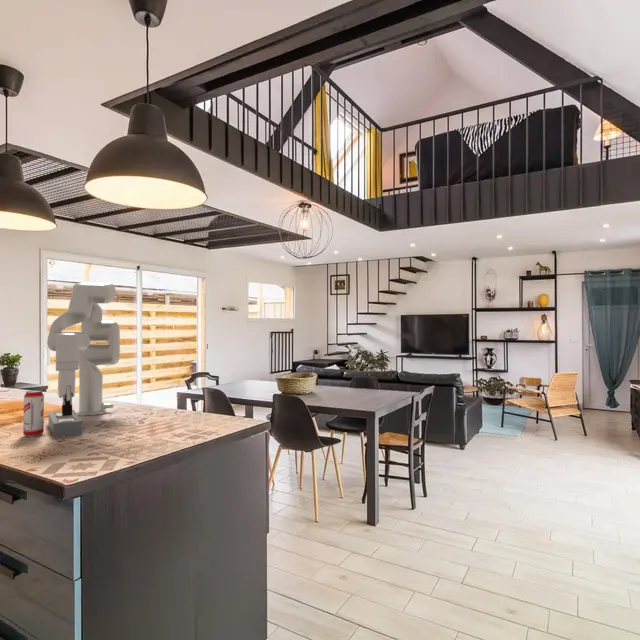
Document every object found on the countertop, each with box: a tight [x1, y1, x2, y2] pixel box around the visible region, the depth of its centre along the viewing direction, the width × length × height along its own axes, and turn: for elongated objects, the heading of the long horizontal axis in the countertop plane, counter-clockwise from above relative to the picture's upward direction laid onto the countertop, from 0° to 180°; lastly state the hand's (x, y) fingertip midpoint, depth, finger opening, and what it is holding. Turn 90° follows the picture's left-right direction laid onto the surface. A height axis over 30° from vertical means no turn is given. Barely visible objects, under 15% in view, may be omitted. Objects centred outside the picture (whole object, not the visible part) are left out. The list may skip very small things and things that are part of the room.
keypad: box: [48, 409, 83, 439], centre depth 174 cm, size 9×27×5 cm, turn 34°
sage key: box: [57, 413, 73, 418], centre depth 174 cm, size 5×5×3 cm
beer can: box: [22, 389, 45, 437], centre depth 164 cm, size 6×6×16 cm
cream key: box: [58, 418, 74, 422], centre depth 167 cm, size 5×5×3 cm
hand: (67, 415), depth 168 cm, fingers closed
